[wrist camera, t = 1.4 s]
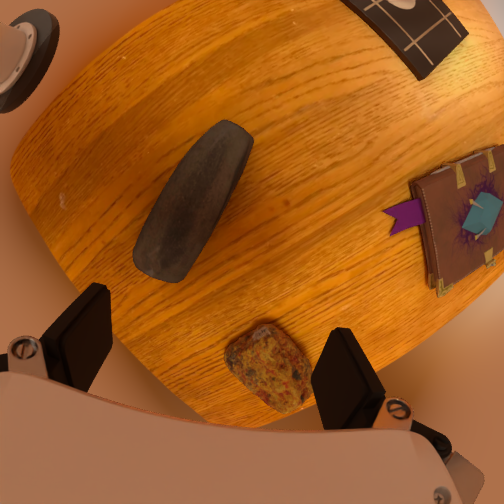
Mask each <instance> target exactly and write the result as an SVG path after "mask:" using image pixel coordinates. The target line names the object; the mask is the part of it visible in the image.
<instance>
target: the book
mask: <svg viewBox="0 0 504 504" xmlns="http://www.w3.org/2000/svg"><path fill="white" fill-rule="evenodd" d="M473 152H474V155H472V156H469V157H467V158H464V159H462V160H460V161H457V162H455V163H444V164H441V167H442V168H441V169H438V170H436V171H434V172H433V173H431V174H430V175H429V176H427V177H424V178H422V179H420V180H417V181H415V182H413V183H412V184H411V186H410V187H411V191H412V194H413V198H414V200H411V201H408V202H404V203H401V204H399V205H396V206H393V207H391V208H389V209H387V210H385V211H383V212H384V213H386V214H388V215H390V216H392V217H394V218H396V219H397V221H396V223H395V225H394V228H393V230H392V232H391V234H390V236H391V235H393V234H396V233H398V232H400V231H402V230H405V229H407V228H410V227H413V226H417V225H420V227H421V232H422V237H423V242H424V247H425V253H426V258H427V265H428V271H429V274H428V286H429V289H430V290H431V289H433V288H436V294H437V297H438V298H439V297H442V296H444V295H446V294H447V293H448V292H449V291H450V290H451V289H452V288H453V285H454V284H455V283H457V282H459V281H460V280H462V279H463V278H465V277H466V276H468V275H469V274H470V273H472V272H473V271H475V270H476V269H478V268H479V267H481V266H482V265H486V267H487V269H488V268H489V267H491V266H495V265H496V263H495V259H493V257H494V256H496V255H497V254H498V253H499V252H501V251H502V250H503V249H504V144H502V145H500V146H497V147H492V148H488V149H486V150H476V151H473Z"/></svg>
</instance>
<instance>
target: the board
mask: <svg viewBox="0 0 504 504" xmlns="http://www.w3.org/2000/svg"><path fill="white" fill-rule="evenodd" d="M341 1H342V2H343V3H344V4H345V5H347V6H348V7H349V8H350V9H351V10H353V11H354V12H355V13H356V14H357V15H358V16H359V17H360V18H362V19H363V20H364V21H365V22H366V23H367V24H368V25H369V26H370V27H371V28H372V29H373V30H374V31H375V32H376V33H377V34H378V35H379V36H380V37H381V38H382V39H383V40H384V41H385V42H386V43H387V44H388V45H389V46H390V47H391V48H392V49H393V50H394V52H395V53H396V54H397V55H398V56H399V57H400V58H401V59H402V61H403V62H404V63H405V64H406V65H407V67H408V68H409V69H410V70H411V71H412V73H413V74H414V75H415V76H416V78H417V79H418V80H422V79H425V78H426V77H427V76H428V75H429V74H430V73H431V72H432V71H433V70H434V69H435V68H436V67H437V66H438V65H439V64H440V63H441V62H442V61H443V60H444V58H445V57H446V56H447V55H448V54H449V53H450V52H451V51H452V50H453V49H454V48H455V47H456V46H457V45H458V44H459V43H460V42H461V41H462V40H463V39H464V38H465V37H466V36H467V35H468V34H469V33H468V31H467V30H466V29H465V27H464V26H463V25H462V24H461V22H460V21H459V20H458V19H457V17H456V16H455V15H454V14H453V13H452V11H451V10H450V9H449V8H448V7H447V6H446V5H445V3H444V2H443V1H442V0H341Z"/></svg>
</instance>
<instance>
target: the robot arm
mask: <svg viewBox="0 0 504 504" xmlns="http://www.w3.org/2000/svg"><path fill="white" fill-rule="evenodd" d="M36 41H37V30H36V28H35V26H34V25H32V24H30V23H27V22H24V23H20V24H18V25H16V26H14V27H12V26H9V25H6V24H4V23H1V22H0V95H1V94H3V93H5V92H6V91H8V90H9V89H10V88H11V87H12V86H13V85H14V84H15V83H16V82H17V80H18V79H19V78H20V77H21V75H22V73H23V72H24V71H25V69H26V67H27V65H28V63H29V61H30V59H31V57H32V55H33V52H34V49H35V45H36ZM112 344H113V338H112V323H111V297H110V290H108V289H107V286H106V285H103V284H99V283H95V282H93V283H92V284H91V285H90V286H89V287H88V288H87V289H86V290H85V291H84V292H83V293H82V294H81V295H80V296H79V297H78V298H77V299H76V300H75V301H74V302H73V303H72V304H71V305H70V306H69V307H68V308H67V309H66V310H65V311H64V312H63V313H62V314H61V315H60V316H59V317H58V318H57V319H56V321H55V322H54V323H53V324H52V325H51V326H50V327H49V328H48V329H47V330H46V331H45V333H44V334H43V335H42V337H41V338H40V339H39V340H38V339H36V338H34V337H32V336H21V337H17V338H16V339H14V340H13V341H12V342H10V344H9V346H8V353H6V354H1V355H0V504H474V502H475V500H476V498H477V496H478V494H479V492H480V490H481V488H482V487H483V484H484V475H483V473H482V472H481V471H480V470H479V469H478V468H477V467H475V466H474V465H473V464H472V463H470V462H469V461H468V460H467V459H465V458H464V457H463V456H462V455H460V454H459V453H458V452H456V451H454V452H453V453H452V452H451V451H452V446H451V443H450V441H449V439H448V438H447V437H446V436H445V435H443V434H441V433H439V432H437V431H435V430H433V429H431V428H429V427H427V426H425V425H423V424H421V423H419V422H417V421H415V420H413V417H414V411H413V408H412V406H411V405H410V404H409V403H408V402H407V401H405V400H404V399H402V398H399V397H388V398H386V397H385V395H384V394H385V392H386V391H385V389H384V388H383V386H382V384H381V382H380V380H379V378H378V376H377V375H376V373H375V371H374V369H373V368H372V366H371V364H370V362H369V361H368V359H367V357H366V355H365V354H364V352H363V350H362V348H361V347H360V345H359V343H358V341H357V340H356V338H355V336H354V335H353V333H352V331H351V330H350V329H349V328H340V327H337V328H336V329H335V330H332V331H331V332H330V335H329V337H328V339H327V342H326V344H325V346H324V349H323V351H322V353H321V355H320V358H319V360H318V362H317V364H316V366H315V369H314V371H313V373H312V375H311V385H312V389H313V392H314V396H315V399H316V403H317V406H318V410H319V413H320V416H321V420H322V424H323V427H324V430H278V429H260V428H248V427H238V426H229V425H221V424H213V423H207V422H200V421H194V420H189V419H183V418H178V417H173V416H168V415H164V414H159V413H155V412H150V411H147V410H143V409H139V408H135V407H131V406H128V405H124V404H121V403H118V402H115V401H111V400H108V399H105V398H102V397H99V396H96V395H92V394H89V393H87V392H88V390H89V388H90V386H91V384H92V382H93V380H94V378H95V377H96V375H97V373H98V371H99V369H100V368H101V366H102V364H103V362H104V360H105V359H106V357H107V355H108V353H109V352H110V350H111V348H112Z"/></svg>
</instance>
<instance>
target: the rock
mask: <svg viewBox="0 0 504 504" xmlns="http://www.w3.org/2000/svg"><path fill="white" fill-rule="evenodd" d="M224 361H225V363H226V365H227V367H228V369H229V370H230V371H231V372H232V373H233V374H234V375H235V377H237V378H238V379H239V381H240V382H242V383H243V384H244V385H245V386H246V387H247V388H248V389H249V390H251V391H252V392H253V394H255V395H257V396H258V397H260V399H262V400H263V401H264V402H265V403H266V404H267V405H268V406H270V407H273V408H274V409H276V410H277V411H278V412H280V413H282V414H286V413H290V412H291V411H294V410H296V409H297V408H298V407H300V406H302V405H303V403H304V402H305V400H306V399H308V398H309V397H310V395H311V394H312V393H313V389H312V385H311V375H312V369H311V367H310V362H309V359H307V358H306V357H305V356H304V355H302V353H301V351H300V350H299V349H298V347H297V346H296V345H295V344H294V343H293V342H292V341H291V338H290V337H289V336H288V335H287V334H284V332H282V331H281V330H279V329H278V328H277V327H276V326H275V325H274V324H264V325H258V326H257V328H256V329H255V330H253V331H251V332H249V333H247V334H246V335H243V336H241V337H240V338H239V339H238V341H236V342H235V343H232V344H230V345H229V347H228V348H227V350H226V352H225V354H224Z"/></svg>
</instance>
